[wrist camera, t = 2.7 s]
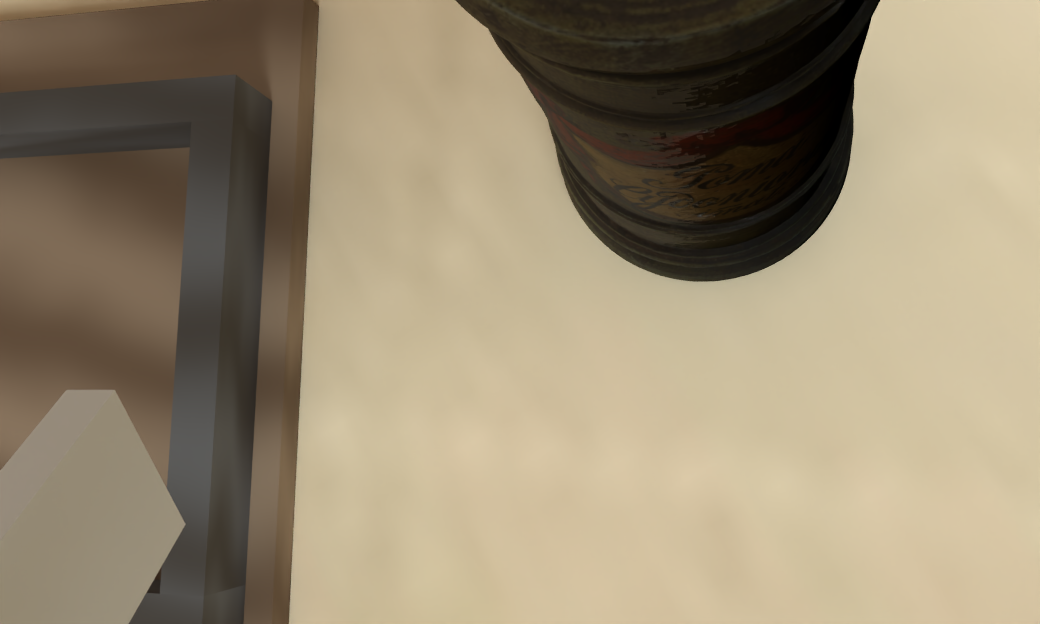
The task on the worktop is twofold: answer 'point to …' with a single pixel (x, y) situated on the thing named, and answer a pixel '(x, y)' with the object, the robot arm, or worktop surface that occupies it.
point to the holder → (168, 265)
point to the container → (693, 119)
